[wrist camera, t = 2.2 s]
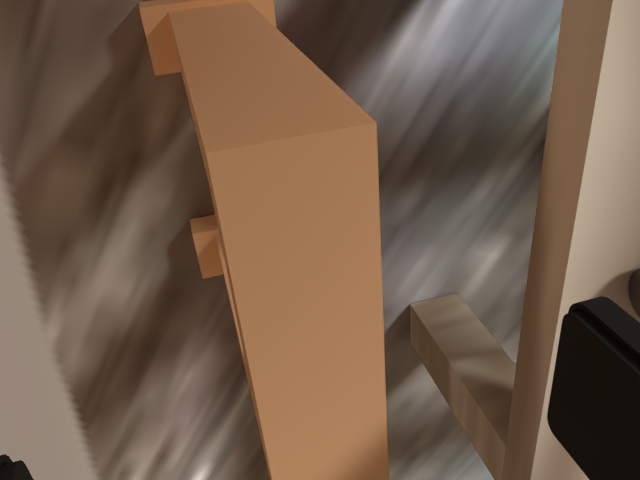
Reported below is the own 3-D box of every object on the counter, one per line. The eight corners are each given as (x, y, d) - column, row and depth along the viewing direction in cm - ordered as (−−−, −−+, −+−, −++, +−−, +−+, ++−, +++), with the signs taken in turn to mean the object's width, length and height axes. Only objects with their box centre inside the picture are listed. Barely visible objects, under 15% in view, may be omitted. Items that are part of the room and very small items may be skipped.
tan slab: (199, 262, 23) (251, 567, 13) (139, 2, 18) (140, 149, 7) (296, 241, 24) (422, 514, 13) (264, -15, 19) (430, 99, 8)
